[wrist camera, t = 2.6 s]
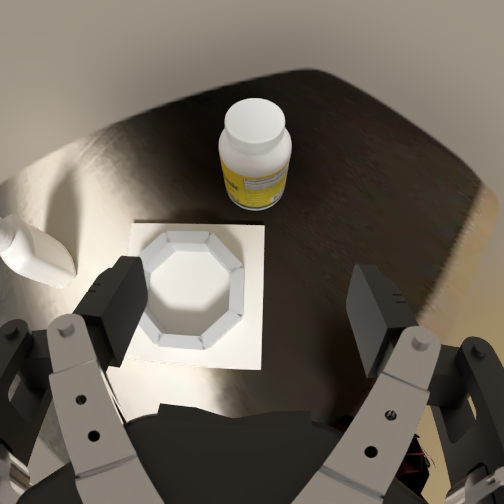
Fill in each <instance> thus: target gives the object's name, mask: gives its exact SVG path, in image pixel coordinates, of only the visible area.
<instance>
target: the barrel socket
mask: <svg viewBox="0 0 504 504" xmlns="http://www.w3.org/2000/svg"><path fill="white" fill-rule="evenodd" d="M127 256H138V257H140V258H141V259H142V263H143V268H144V274H145V279H146V284H147V289H148V301H147V305H146V308H145V310H144V312H143V315H142V317H141V319H140V321H139V324H138V326H137V328H136V330H135V333H134V335H133V337H132V340H131V342H130V345H129V347H128V349H127V352H126V354H125V357H124V359H131V360H139V361H147V362H155V363H164V364H174V365H184V366H196V367H210V368H227V369H250V370H261V346H262V310H263V271H264V226H262V225H223V224H159V223H131V230H130V237H129V243H128V251H127Z"/></svg>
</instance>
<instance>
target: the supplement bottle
mask: <svg viewBox="0 0 504 504" xmlns="http://www.w3.org/2000/svg"><path fill="white" fill-rule="evenodd" d="M291 147H292V144H291V138H290V135H289V133H288V131H287V129H286V128H285V117H284V114H283V112H282V111H281V109H280V108H279V107H278V106H277V105H275V104H274V103H272V102H270V101H268V100H265V99H260V98H250V99H245V100H242V101H239V102H237V103H236V104H234V105H233V106H232V107H231V108H230V109H229V110H228V112H227V113H226V116H225V129H224V130H223V132H222V133H221V136H220V139H219V154H220V159H221V165H222V170H223V175H224V180H225V186H226V190H227V193H228V195H229V197H230V198H231V200H232V201H233V202H234V203H235V204H237V205H238V206H240V207H242V208H244V209H248V210H263V209H266V208H269V207H271V206H273V205H274V204H275V203H276V202H277V201H278V200H279V199H280V198H281V196H282V194H283V191H284V188H285V183H286V177H287V172H288V166H289V160H290V155H291Z"/></svg>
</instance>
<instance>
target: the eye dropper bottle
mask: <svg viewBox="0 0 504 504" xmlns="http://www.w3.org/2000/svg"><path fill="white" fill-rule="evenodd" d="M0 256H1V257H2V259H3V261H4V262H5V263H6V264H7V265H8V266H9V267H10V268H11V269H12V270H13V271H14V272H16V273H18V274H20V275H22V276H25V277H27V278H30V279H33V280H35V281H38V282H41V283H44V284H47V285H50V286H53V287H56V288H59V289H65V288H66V287H67V286H68V285H69V284H70V283H71V282H72V281H73V280H74V278H75V276H76V270H75V265H74V262H73V259H72V257H71V255H70V253H69V252H68V250H67V249H66V248H65V246H64V245H63V244H62V243H60V242H59V241H58V240H56V239H55V238H53V237H51V236H49V235H48V234H46V233H45V232H43V231H41V230H40V229H38V228H36V227H35V226H33V225H31V224H30V223H28V222H27V221H25V220H23V219H22V218H20V217H18V216H16V215H14V214H10V215H8V216H6V217H5V218H4V219H3V218H1V217H0Z"/></svg>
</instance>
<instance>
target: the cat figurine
mask: <svg viewBox="0 0 504 504" xmlns="http://www.w3.org/2000/svg"><path fill="white" fill-rule="evenodd" d="M353 420H354V417H351V416H348V415H345V416H344V417H342V418H341V419H339V420H338V421H336V422H335V425H334V428H335V429H337V430H339V431H340V432H342V433H343V434H345V432H346V431H347V429H348V428H349V426H350V424H351V423H352V421H353ZM417 438H419V436H418V435H417V434H414V436H413V438H412V441H411V443H410V445H409V447H408V450H407V452H406V454H405V456H404V458H403V460H402V462H401V464H400V466H399V468H398V470H397V472H396V474H395V476H394V477H395V478H397V479H398V480H399V481H400V482H401V483H403V484H404V485H405V486H406V487H408V488H409V489H410V490H411V491H413V492H414V493H415V494H416V495H418V496H419V497H420V498H421V499H423V500H424V501H425V502H426V503H427V501H426V500H425V499H424V498H423V496H422V495H421V492H422V490H423V488H424V486H425V483H426V482H427V479H428V477H429V471H428V468H429V467H430V463H429V461H428V459H427V457H426V458H425V457H424V455H425V454H424V452H423V451H422V449H421V447H420V445H419V442H418V440H417ZM427 467H428V468H427Z"/></svg>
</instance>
